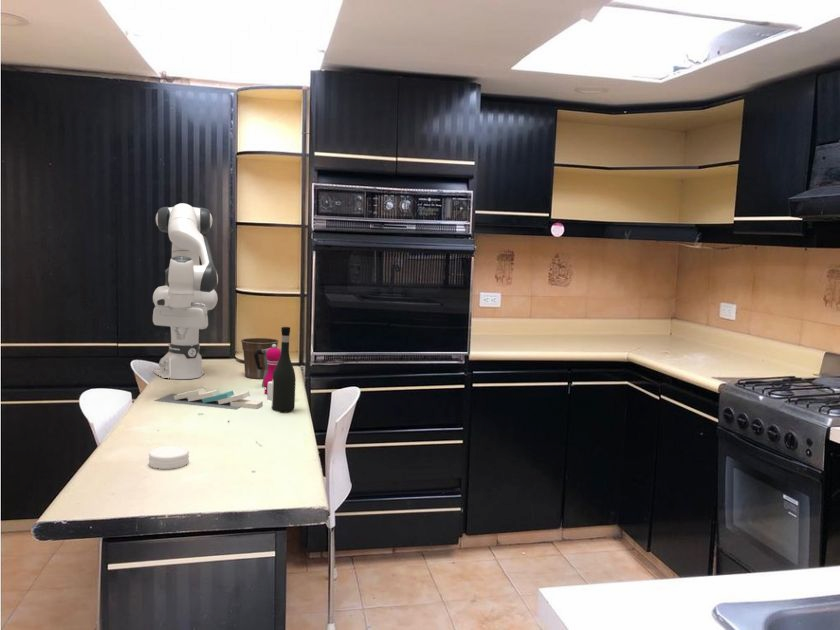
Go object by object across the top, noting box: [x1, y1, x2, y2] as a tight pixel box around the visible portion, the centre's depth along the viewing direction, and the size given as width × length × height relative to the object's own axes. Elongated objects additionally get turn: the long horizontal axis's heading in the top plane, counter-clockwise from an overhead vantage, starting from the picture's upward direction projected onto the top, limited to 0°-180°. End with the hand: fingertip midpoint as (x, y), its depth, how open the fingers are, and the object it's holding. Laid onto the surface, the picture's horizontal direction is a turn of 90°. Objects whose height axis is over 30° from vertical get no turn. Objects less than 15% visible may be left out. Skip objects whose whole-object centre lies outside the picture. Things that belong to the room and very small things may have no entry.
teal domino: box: [202, 390, 235, 403], centre depth 242 cm, size 2×5×10 cm
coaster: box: [148, 445, 190, 470], centre depth 178 cm, size 10×10×4 cm
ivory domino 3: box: [218, 391, 251, 404], centre depth 241 cm, size 2×5×10 cm
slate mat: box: [153, 393, 242, 411], centre depth 243 cm, size 32×12×1 cm, turn 79°
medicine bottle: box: [266, 371, 274, 402], centre depth 252 cm, size 7×7×12 cm
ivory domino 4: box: [230, 398, 264, 410], centre depth 240 cm, size 2×5×10 cm
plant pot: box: [240, 337, 280, 380], centre depth 293 cm, size 16×16×16 cm
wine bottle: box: [271, 326, 297, 413], centre depth 237 cm, size 8×8×30 cm
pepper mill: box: [263, 344, 281, 395], centre depth 261 cm, size 7×7×20 cm
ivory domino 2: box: [187, 388, 221, 402], centre depth 243 cm, size 2×5×10 cm
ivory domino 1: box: [174, 387, 207, 400], centre depth 244 cm, size 2×5×10 cm
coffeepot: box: [254, 343, 281, 388], centre depth 275 cm, size 15×9×18 cm, turn 129°
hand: (180, 339), depth 243 cm, fingers closed
